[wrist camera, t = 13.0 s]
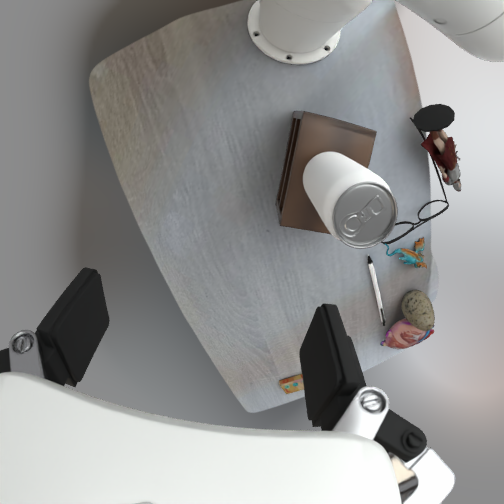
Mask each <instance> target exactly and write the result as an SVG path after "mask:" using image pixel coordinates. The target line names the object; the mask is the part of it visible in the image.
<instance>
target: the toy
mask: <svg viewBox="0 0 504 504" xmlns="http://www.w3.org/2000/svg"><path fill="white" fill-rule="evenodd" d="M279 384H280V386H281V388H282V389H283V390H284V391H285V393H286V394H289V393H292V392H296V391H300V390H303V389H304V384H303V376H302V374H300V375H297V376H294V377H290V378H287V379H283V380H280V381H279Z"/></svg>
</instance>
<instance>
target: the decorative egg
mask: <svg viewBox="0 0 504 504" xmlns="http://www.w3.org/2000/svg"><path fill="white" fill-rule="evenodd" d="M402 311H403V314H404V316H405V317H406V319H407V320H408V321H409V322H410V323H411V324H412V325H413V326H414V327H416V328H417V329H419V330H422V331H429V330H431V329H432V327H433V325H434V320H435V318H434V311H433V307H432V304H431V302H430V300H429V298H428V297H427V296H426V294H424V293H423V292H421V291H419V290H412V291H409V292H408V293H407V294H406V295H405V296H404V298H403V300H402Z"/></svg>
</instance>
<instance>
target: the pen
mask: <svg viewBox="0 0 504 504" xmlns="http://www.w3.org/2000/svg"><path fill="white" fill-rule="evenodd" d="M368 265H369V269H370V273H371V277H372V281H373V286H374V290H375V294H376V299H377V303H378V308H379V313H380V318H381V322H382V323H383V326H385V317H384V311H383V306H382V301H381V296H380V292H379V287H378V282H377V278H376V274H375V270H374V265H373V261H372V260H371V258H370V256H369V255H368Z"/></svg>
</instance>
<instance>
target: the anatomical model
mask: <svg viewBox="0 0 504 504" xmlns="http://www.w3.org/2000/svg"><path fill="white" fill-rule="evenodd" d="M433 327H434V325H433ZM433 327H432V328H433ZM433 333H434V330H432V329H431V330H429V331H422V330H419V329H417V328H416V327H414V326H413V325H412V324H411V323H410V322H409V321H408V320H407V319H406V318H405V319H402V320H400V321H398V322H396V323H395V324H394V325H393V326H392V327H391V328H390V330H389V331H387V333H386V335H385V336H386V340H384V341H382V342H381V345H382V346H388V347H391V348H395V349H404V348H408V347H411V346H413V345H415V344H418V343H420V342H422V341H423V340H425V339H427V338H428V337H429V336H430V335H431V334H433Z"/></svg>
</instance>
